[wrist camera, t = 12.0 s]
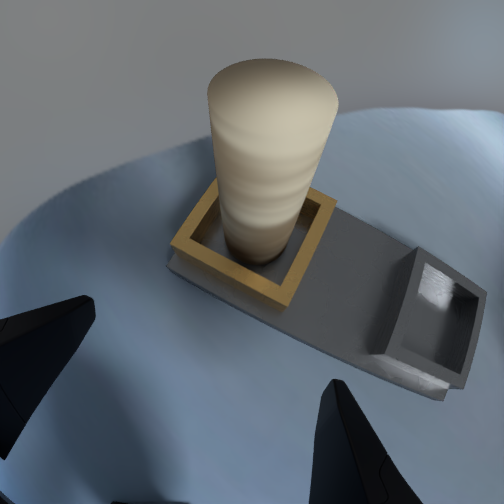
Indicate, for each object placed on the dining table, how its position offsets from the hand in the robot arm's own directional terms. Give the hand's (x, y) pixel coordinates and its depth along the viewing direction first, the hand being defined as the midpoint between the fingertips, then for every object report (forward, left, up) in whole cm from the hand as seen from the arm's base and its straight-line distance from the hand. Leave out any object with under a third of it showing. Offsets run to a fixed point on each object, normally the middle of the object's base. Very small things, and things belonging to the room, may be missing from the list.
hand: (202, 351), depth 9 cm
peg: (+7, -3, -7) cm, 10 cm away
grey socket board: (+3, -8, -8) cm, 12 cm away
